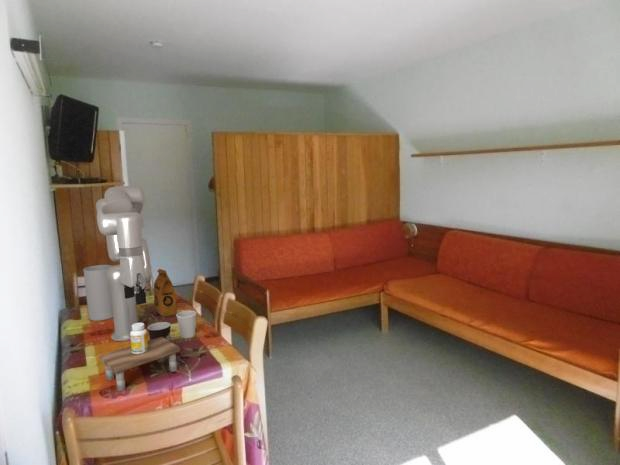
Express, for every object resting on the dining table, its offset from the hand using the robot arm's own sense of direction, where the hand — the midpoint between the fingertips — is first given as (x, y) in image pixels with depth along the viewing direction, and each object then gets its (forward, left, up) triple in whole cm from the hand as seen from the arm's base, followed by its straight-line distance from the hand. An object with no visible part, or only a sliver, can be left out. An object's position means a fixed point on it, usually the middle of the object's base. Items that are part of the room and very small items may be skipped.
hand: (135, 300), depth 140 cm
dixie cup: (-19, +28, -27) cm, 43 cm away
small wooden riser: (+1, 0, -26) cm, 26 cm away
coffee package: (-54, +35, -27) cm, 69 cm away
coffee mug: (-14, +15, -27) cm, 33 cm away
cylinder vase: (-73, +11, -27) cm, 78 cm away
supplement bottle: (+1, 0, -18) cm, 18 cm away
